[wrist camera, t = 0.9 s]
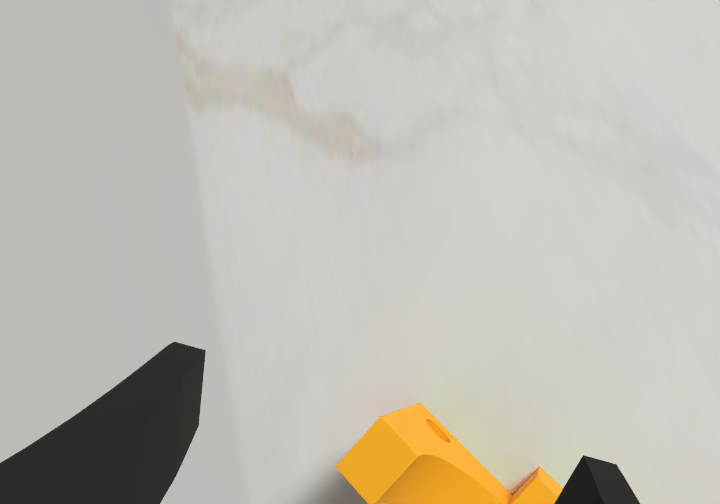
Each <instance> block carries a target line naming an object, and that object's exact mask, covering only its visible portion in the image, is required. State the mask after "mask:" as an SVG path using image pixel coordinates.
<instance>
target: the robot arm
mask: <svg viewBox="0 0 720 504" xmlns="http://www.w3.org/2000/svg"><path fill="white" fill-rule="evenodd" d="M204 361H205V350H202V349H198V348H195V347H191V346H188V345H184V344H180V343H177V342H174V343H171V344H169V345H168V346H167V347H165V348H164V349H163V350H162V351H160V352H159V353H158V354H157V355H155V356H154V357H153V358H152V359H150V360H149V361H148V362H147V363H145V364H144V365H143V366H142V367H140V368H139V369H138V370H136V371H135V372H134V373H132V374H131V375H130V376H129V377H127V378H126V379H125V380H123V381H122V382H121V383H119V384H118V385H117V386H115V387H114V388H113V389H111V390H110V391H109V392H107V393H106V394H104V395H103V396H102V397H100V398H99V399H97V400H96V401H95V402H93V403H92V404H91V405H89V406H88V407H86V408H85V409H83V410H82V411H81V412H79V413H78V414H76V415H75V416H74V417H72V418H71V419H69V420H68V421H66V422H64V423H63V424H61V425H60V426H58V427H57V428H55V429H54V430H52V431H51V432H49V433H48V434H46V435H45V436H43V437H42V438H40V439H39V440H37V441H35V442H34V443H32V444H31V445H29V446H28V447H26V448H25V449H23V450H21V451H20V452H18V453H16V454H15V455H13V456H11V457H10V458H8V459H6V460H5V461H3V462H1V463H0V504H160V503H161V501H162V499H163V497H164V496H165V494H166V492H167V491H168V489H169V487H170V485H171V484H172V482H173V480H174V478H175V477H176V475H177V472H178V470H179V468H180V466H181V464H182V462H183V459H184V457H185V455H186V453H187V450H188V448H189V446H190V444H191V442H192V439H193V437H194V435H195V432H196V430H197V428H198V425H199V415H200V403H201V393H202V382H203V372H204ZM554 504H640V503H639V501H638V500H637V498H636V496H635V494H634V493H633V491H632V489H631V488H630V486H629V484H628V483H627V481H626V479H625V478H624V476H623V475H622V473H621V471H620V470H619V468H618V466H617V465H616V464H613V463H609V462H605V461H602V460H598V459H595V458H591V457H587V456H584V455H583V457H582V458H581V460H580V462H579V463H578V465H577V467H576V468H575V470H574V472H573V473H572V475H571V477H570V478H569V480H568V482H567V483H566V485H565V487H564V488H563V490H562V492H561V493H560V495H559V497H558V498H557V500H556V502H555V503H554Z"/></svg>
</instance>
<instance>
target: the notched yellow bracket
mask: <svg viewBox="0 0 720 504" xmlns="http://www.w3.org/2000/svg"><path fill="white" fill-rule="evenodd" d="M336 468H337V469H338V470H339V471H340V473H341V474H342V475H343V476H344V477H345V478H346V479H347V480H348V482H349V483H350V484H351V485H352V486H353V487H354V488H355V490H356V491H357V492H358V493H359V494H360V495H361V496H362V497H363V499H364V500H365V501H366V502H367V503H368V504H554V503H555V502H556V500H557V498H558V497H559V495H560V493H561V492H562V490H563V488H562V487H561V486H560V485H559V484H557V483H556V482H555V481H554V480H553V479H552V478H551V477H550V476H549V475H548V474H547V473H546V472H545V471H544V470H543V469H542V468H541V467H539V468H538V469H537V470H536V471H535V472H534V473H533V474H532V475H531V477H530V478H529V479H528V480H527V481H526V482H525V483H524V484H523V485H522V486H521V487H520V488H519V489H518V490H517V491H516V492H515V493H514V494H513V496H512V495H511V494H510V493H509V492H508V491H507V489H506V488H505V487H504V486H503V485H502V484H501V483H500V482H499V481H498V480H497V479H496V478H495V477H494V476H493V475H492V474H491V473H490V472H489V471H488V470H487V469H486V468H485V467H484V466H483V465H482V464H481V463H480V462H479V461H478V460H477V459H476V458H475V457H474V456H473V455H472V454H471V453H470V452H469V451H468V450H467V449H466V448H465V447H464V446H463V445H462V444H461V443H460V442H459V441H458V440H457V439H456V438H455V437H454V436H453V435H452V434H451V433H450V432H449V431H448V430H447V429H446V428H445V427H444V426H443V425H442V424H441V423H440V422H439V421H438V420H437V419H436V418H435V417H434V416H433V415H432V414H431V413H430V412H429V411H428V410H427V409H426V408H425V407H424V406H423V405H422V404H421V403H419V404H416V405H413V406H410V407H407V408H404V409H401V410H398V411H395V412H392V413H389V414H386V415H383V416H380V418H379V419H378V420H377V421H376V422H375V423H374V424H373V425H372V426H371V428H370V429H369V430H368V431H367V432H366V433H365V434H364V435H363V437H362V438H361V439H360V440H359V441H358V442H357V443H356V444H355V445H354V447H353V448H352V449H351V450H350V451H349V452H348V453H347V454H346V455H345V457H344V458H343V459H342V460H341V461H340V462H339V463H338V464H337V465H336Z"/></svg>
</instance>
